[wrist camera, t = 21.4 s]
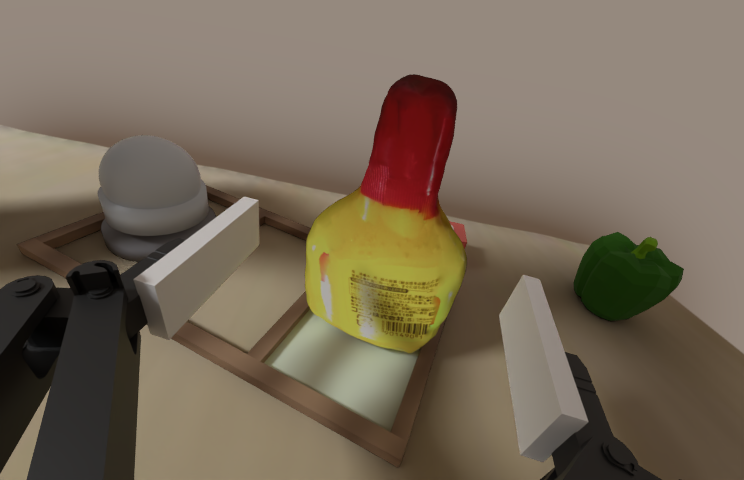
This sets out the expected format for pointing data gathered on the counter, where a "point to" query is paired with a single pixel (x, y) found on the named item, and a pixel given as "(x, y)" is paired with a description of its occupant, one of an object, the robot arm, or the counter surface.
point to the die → (460, 232)
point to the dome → (151, 187)
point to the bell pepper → (624, 277)
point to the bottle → (392, 229)
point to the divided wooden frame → (289, 347)
